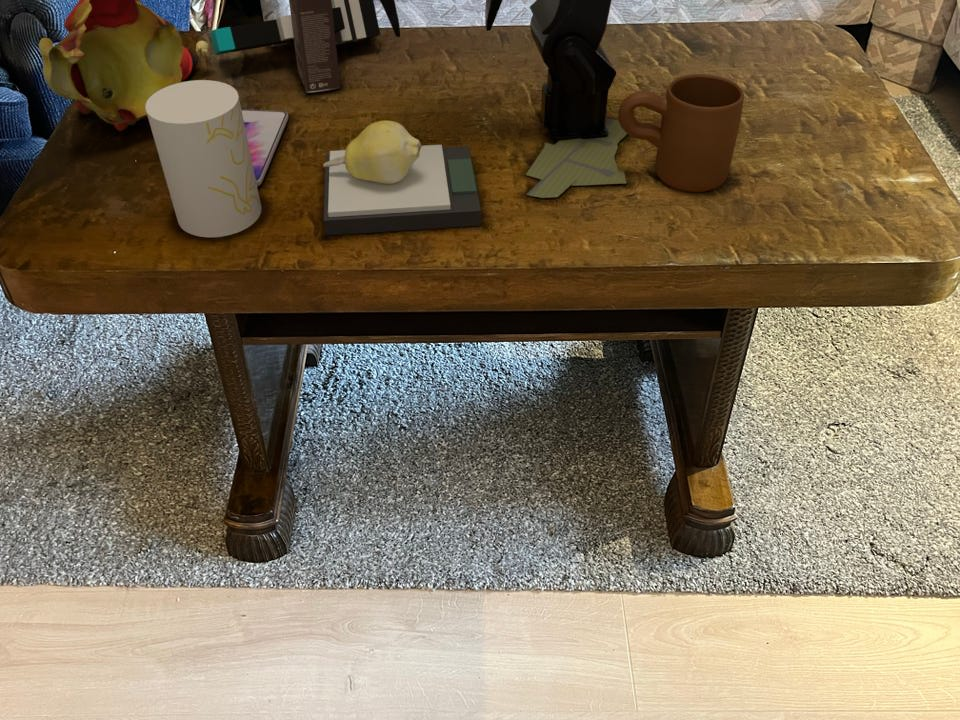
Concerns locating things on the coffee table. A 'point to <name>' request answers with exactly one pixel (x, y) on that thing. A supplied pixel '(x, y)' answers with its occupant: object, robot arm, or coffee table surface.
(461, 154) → the scale
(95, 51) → the toy
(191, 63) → the toy figurine
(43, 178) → the coffee table surface
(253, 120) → the smartphone
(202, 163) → the cup
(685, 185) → the mug
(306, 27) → the box
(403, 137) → the fruit
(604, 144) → the map
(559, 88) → the robot arm
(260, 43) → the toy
